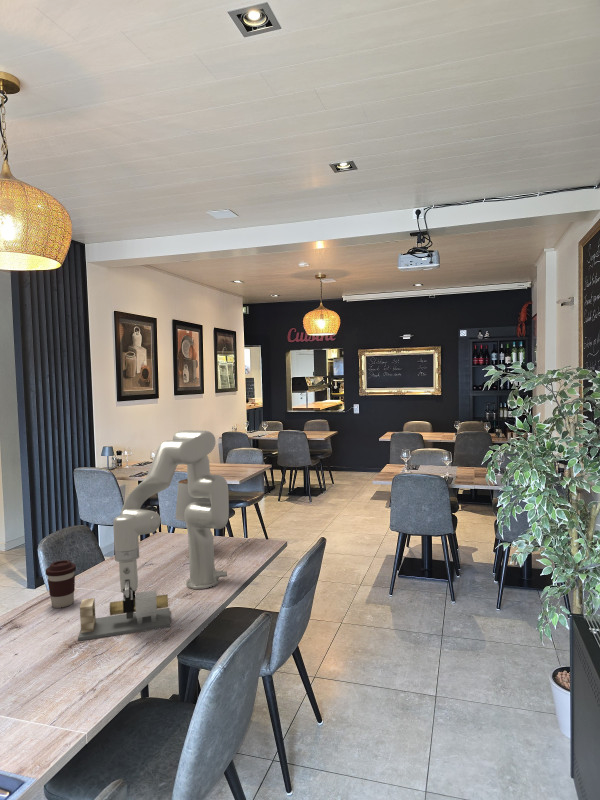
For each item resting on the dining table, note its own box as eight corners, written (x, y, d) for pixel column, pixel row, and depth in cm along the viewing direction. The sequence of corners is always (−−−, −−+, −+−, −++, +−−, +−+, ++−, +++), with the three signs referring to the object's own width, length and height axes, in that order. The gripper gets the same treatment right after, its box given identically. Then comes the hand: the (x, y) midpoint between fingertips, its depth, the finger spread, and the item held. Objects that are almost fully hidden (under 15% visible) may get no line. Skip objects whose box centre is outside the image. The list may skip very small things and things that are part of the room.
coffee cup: (83, 600, 196) (81, 559, 195) (63, 611, 186) (61, 568, 186) (62, 597, 199) (59, 557, 199) (41, 608, 190) (38, 566, 189)
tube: (168, 606, 179) (167, 587, 179) (168, 612, 174) (167, 593, 174) (111, 614, 175) (110, 595, 175) (110, 621, 170) (109, 601, 170)
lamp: (186, 548, 253) (182, 477, 252) (224, 548, 251) (221, 476, 249) (170, 561, 234) (167, 485, 233) (212, 562, 232) (209, 484, 231)
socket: (95, 622, 174) (94, 598, 174) (93, 631, 168) (92, 606, 168) (83, 623, 173) (82, 599, 173) (81, 632, 167) (79, 607, 167)
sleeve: (157, 613, 179) (156, 590, 179) (157, 621, 173) (156, 596, 173) (137, 616, 177) (135, 592, 177) (136, 624, 172) (135, 599, 171)
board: (169, 610, 183) (169, 607, 183) (170, 626, 171) (170, 623, 171) (83, 623, 176) (83, 620, 176) (78, 640, 164) (77, 637, 164)
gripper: (138, 560, 166) (140, 615, 166) (140, 545, 182) (142, 594, 183) (112, 563, 164) (115, 619, 164) (116, 547, 181) (119, 597, 181)
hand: (129, 606), depth 174 cm, fingers open, 9 cm apart
